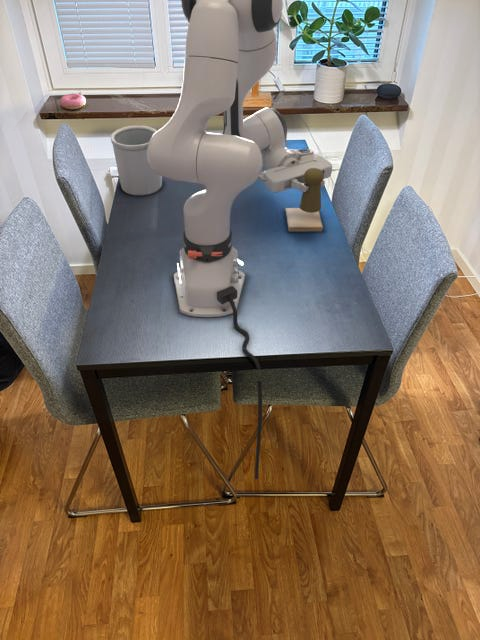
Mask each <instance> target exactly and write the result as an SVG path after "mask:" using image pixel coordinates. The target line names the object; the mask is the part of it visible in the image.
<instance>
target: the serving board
mask: <svg viewBox="0 0 480 640" xmlns="http://www.w3.org/2000/svg"><path fill="white" fill-rule="evenodd" d="M285 216H286V217H285V218H286V223H287V224H286V225H287V230H288V232H296V233H297V232H300V233H301V232H323V228H324V227H323V223H322V218H321V214H320V210H319V211H318V212H314V213H309V212H305V211H303V210H301V209H300V207H285Z"/></svg>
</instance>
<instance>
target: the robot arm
mask: <svg viewBox="0 0 480 640" xmlns="http://www.w3.org/2000/svg"><path fill="white" fill-rule="evenodd" d="M180 3H181V8H182V9H181V10H182V12H183V15H184V17H185V19H186V20H187V22H188V25H187V26H188V28H187V33H186V37H185V38H186V40H185V48H184V62H183V63H184V64H183V74H182V75H183V76H182V84H181V93H180V97H179V101H178V104H177V107H176V109H175V111H174V112H173V114H172V116H171V117H170V119H169V120H168V121H167V122H166V124H164V125H163V127H161V128H159V129H158V130H157V132H156V133H155V134H154V135H153V136H152V137H151V139H150V141H149V144H148V147H147V158H148V162H149V165H150V167H151V169H152V170H153V172H154V173H156V174H158V175H160V176H162V178H166V179H169V180H172V181H178V182H185V183H191V184H200V185H203V186H204V187H205V189H203V190H200V191H197V192H195V193H193V194H191V196H189V197H188V198H187V199H186V201H185V202H184V205H183V208H182V213H183V224H184V230H183V237H182V238H183V239H182V242H183V247H182V248H181V249H180V250H179V262H180V266H179V263H178V262H177V263H176V265H177V271H176V272H175V273H174V274H173V283H174V288H175V293H176V298H177V304H178V308H179V313H181V314H183V315H185V316H190V317H195V318H219V317H226V316H229V315H233V319H232V322H233V326H234V328H235V330H236V331H238V333H241V334H243V335H244V336H245V337H244V341H243V342H242V345H241V348H242V352H243V353H244V354H245V355H246V356H247V357H248V359H251V360H252V362H253V364H254V365H255V368H256V370H257V371H260V370H261V369H262V368H261V367H262V366H261V364H260V362H259V360H258V358H257V357H256V356H255V355H253V353H251V352H250V351H249V350H248V348H247V345H248V343H249V341H250V334H249V332H248V331H247V330H245V329H244V328H242V327H241V326H239V323H238V311H237V309H238V306H239V302H240V298H241V295H242V292H243V288H244V283H245V281H246V274H245V273H244V272H243V271H242V270H239V265H240V266H244V262H243V260H240V259H239V258H238V257H239V256H238V250H237V249H236V248H235V247H234V246H233V234H232V230H231V211H232V207H233V204H234V201H235V200H236V198H237V197H238V195H239V194H240V193H242V191H244V190H246V189H248V188H250V187H251V186H252V185H254V183H256V181H257V180H258V179H259V180H260V181H261V182H263V184H264V186H265V187H266V189H268V191H270V192H271V193H273V194H278V193H281V192H285V191H289V190H291V189H292V190H298V191H301V192H302V193H303V192H306V191H308V190H309V185H307V184H306V183H305V180H304V174H305V172H306V170H308V169H310V168H318V169H320V170H322V172H323V175H324V178H325V179H328V178H330V177H331V176H332V172H333V164H332V163H331V162H330V161H329V160H328V159H326V158H325V157H323V156H321V155H319V154H315V153H314V152H315V151H314V150H313V149H311V148H306V149H305V148H303V149H294V148H289V147H287V146H286V145H285V144H286V143H287V138H288V126H287V122H286V119H285V117H284V116H283V115H282V113H280V112H279V111H278V110H277V109H275V108H274V107H270V106H266V107H264V108H262V109H260V110H258V111H256V112H254V113H253V114H251V115H250V116H248V117H246V118H245V119H244V101H245V100H246V98H247V95H249V93H250V91H251V90H252V89H253V87H255V85H257V84H258V83H259V81H261V80H262V79H263V78H264V77H265V76H266V75H267V74H268V73H269V72H270V70H271V69H272V67H273V65H274V63H275V61H276V59H277V58H276V57H277V49H278V46H277V45H278V44H277V35H276V34H277V33H276V27H277V25H278V24H279V23H280V21H281V19H282V15H283V10H284V0H180ZM220 114H222V118H223V128H222V133H217V132H210V131H209V132H208V131H206V129H207V125H208V122H209V121H210V120H211V118H213V117H217V116H218V115H220ZM262 170H263V171H262ZM324 178H323V181H322V182H321V188H322V187H325V184H326V180H325V179H324ZM262 385H263V382H262V380H257V429H256V430H257V432H256V433H257V434H256V448H255V449H256V450H255V461H254V462H255V465H254V479H255V480H259V468H260V467H259V466H260V453H261V442H262V441H261V438H262V427H263V426H262V422H263V386H262Z"/></svg>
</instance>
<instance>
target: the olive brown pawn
mask: <svg viewBox="0 0 480 640" xmlns="http://www.w3.org/2000/svg"><path fill="white" fill-rule="evenodd" d="M323 178H324V175H323V172H322V170H320V169H318V168H310V169H308V170H306V172H305V174H304V180H305V183H306V184H307V185H309V190H308V191H306V192H303V191H302V194H301V198H300V202H299V208H300V209H301V210H303V211H305V212H309V213H314V212H318V211H319V212H320V211H321V209H322V187H321V182H322V181H323V180H324V179H323Z"/></svg>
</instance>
